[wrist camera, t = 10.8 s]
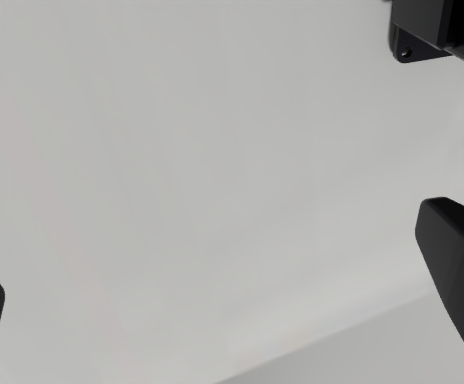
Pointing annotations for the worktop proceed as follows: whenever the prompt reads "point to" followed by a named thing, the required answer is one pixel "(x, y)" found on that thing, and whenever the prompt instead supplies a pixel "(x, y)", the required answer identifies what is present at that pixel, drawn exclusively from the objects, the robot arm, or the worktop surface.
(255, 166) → the worktop surface
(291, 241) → the worktop surface
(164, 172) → the worktop surface
